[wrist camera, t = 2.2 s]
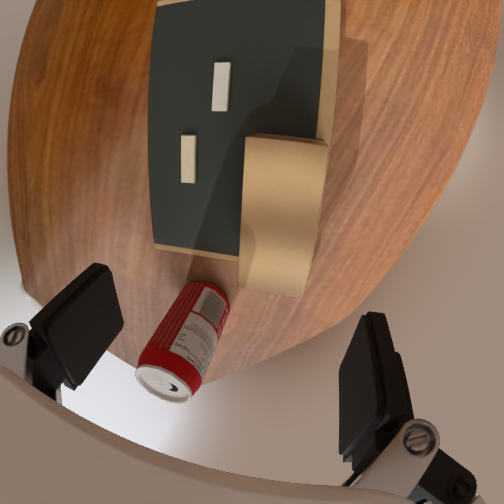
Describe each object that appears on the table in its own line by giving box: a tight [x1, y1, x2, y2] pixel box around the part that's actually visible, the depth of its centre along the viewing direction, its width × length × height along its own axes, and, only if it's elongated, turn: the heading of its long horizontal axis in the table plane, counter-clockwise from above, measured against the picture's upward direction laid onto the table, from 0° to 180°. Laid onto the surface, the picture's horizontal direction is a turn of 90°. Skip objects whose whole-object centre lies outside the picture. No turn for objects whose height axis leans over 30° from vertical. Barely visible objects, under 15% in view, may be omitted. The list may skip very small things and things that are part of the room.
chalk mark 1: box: [181, 135, 196, 183], centre depth 21 cm, size 4×1×1 cm, turn 178°
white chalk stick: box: [212, 62, 231, 111], centre depth 18 cm, size 4×1×1 cm, turn 178°
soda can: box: [135, 282, 230, 404], centre depth 24 cm, size 6×6×12 cm
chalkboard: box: [148, 0, 341, 272], centre depth 20 cm, size 24×15×1 cm, turn 178°
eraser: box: [238, 132, 329, 298], centre depth 20 cm, size 11×5×4 cm, turn 178°
